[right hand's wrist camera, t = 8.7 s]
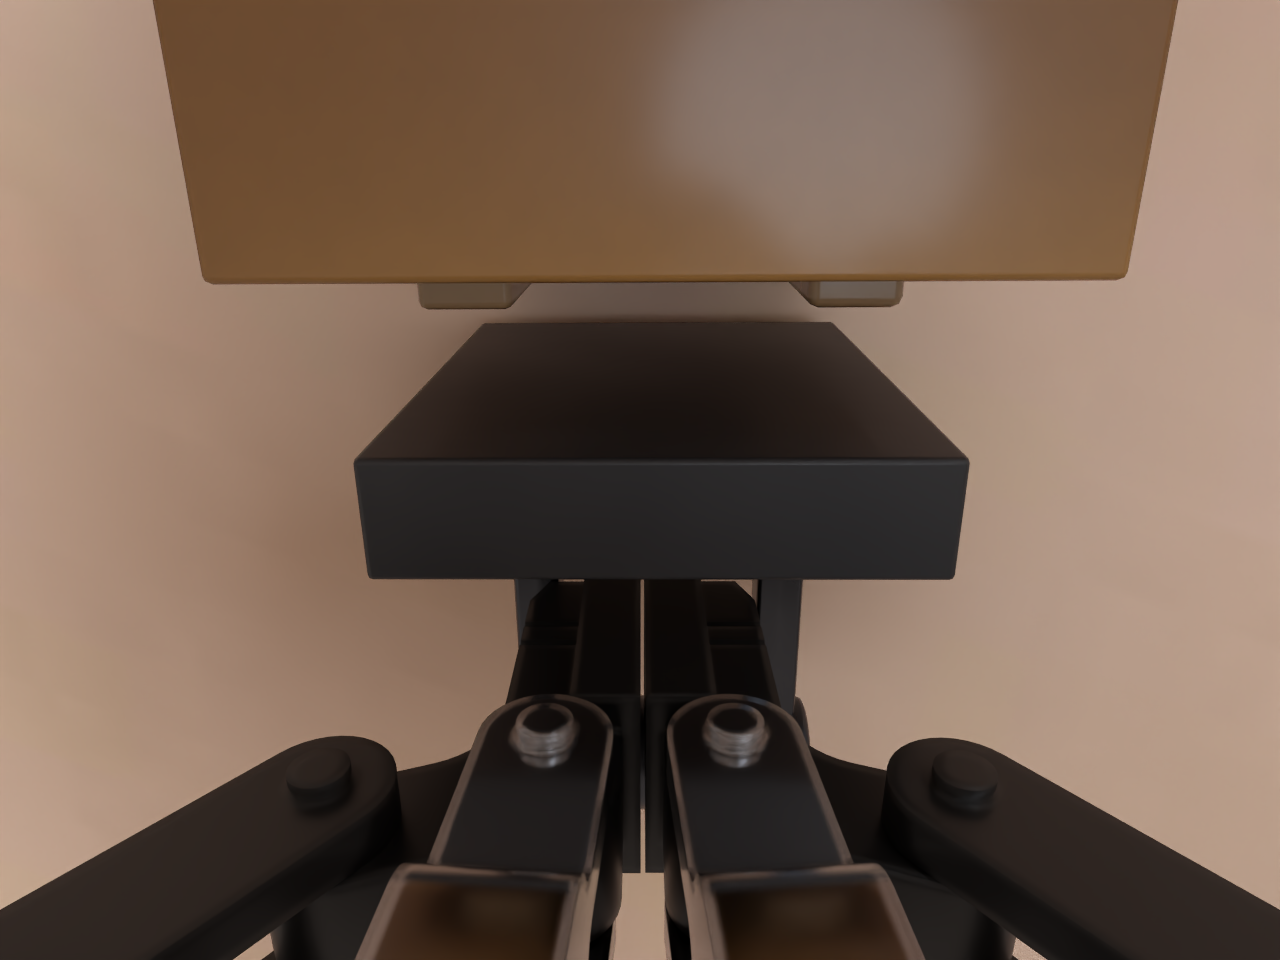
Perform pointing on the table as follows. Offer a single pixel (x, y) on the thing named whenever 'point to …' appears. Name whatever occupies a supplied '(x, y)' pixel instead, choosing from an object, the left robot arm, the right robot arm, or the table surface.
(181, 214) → the table surface
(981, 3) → the cabinet
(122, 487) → the table surface
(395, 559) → the drawer
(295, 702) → the table surface
